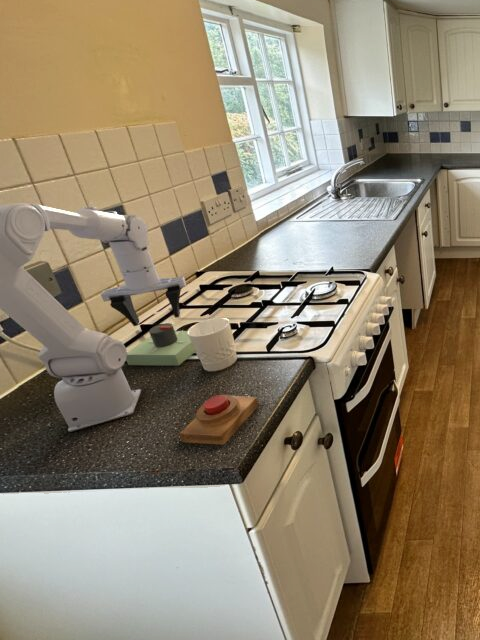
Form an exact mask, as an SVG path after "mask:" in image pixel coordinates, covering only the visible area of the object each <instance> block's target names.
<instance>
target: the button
mask: <svg viewBox="0 0 480 640" xmlns="http://www.w3.org/2000/svg"><path fill="white" fill-rule="evenodd" d="M225 395H226V394H219V395H215V396H212V397H210V398H208V399H207V400H206V401H205V402H204V403H205V404H204V403H203V404H204V408H205V410H206V413H207V414H208V415H215V414H218V413H220V412H222V411H224V410H226V409H227V408H228V407H229V403H228V400H227V397H226V396H225Z"/></svg>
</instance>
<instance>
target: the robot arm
mask: <svg viewBox="0 0 480 640" xmlns="http://www.w3.org/2000/svg"><path fill="white" fill-rule="evenodd" d="M50 230H61V231H62V230H63V231H64V230H65V231H69V233H70V234H71V235H72V236H74V237H76V238H79V239H86V240H87V239H90V240H99V241H101V242H102V243H104V244H107V243H108V244H109V247H110V249H111V252H112V254H113V257H114V260H115V261H116V264H117V266H118V269H119V272H120V274H121V276H122V279H123V281H124V284H125V285H120V286H118V287H113V288H109V289H103V291H102V292H101V293H100V296H101V298H102V300H103V302H110V304H109V305H110V307H111V308H113V309H114V310H116V311H118V312H119V313H120V314H121V315H122V316H124V317H125V318H126V319H127V320H128V321H129V322H130V323H131V324H132V326H133V327H137V326H139V323H140V319H139V316H138V314H137V312H136V309H135V307H134V304H133V300H132V297H131V296H136V295H137V296H138V295H142V294H147V293H152V292H158V291H163V290H164V291H165V290H166V292H165V297H166V298H167V300H168V302H169V304H170V307H171V310H172V313H173V316H174V318H179V317H180V315H181V311H180V298H181V297H180V296H181V291H182V289H183V288H185V287H186V286H187V281H186V278H185V276H184V275H183V276H177V277H164V278H160V277H159V274H158V271H157V269H156V266H155V263H154V261H153V258H152V255H151V252H150V250H149V248H148V246H149V245H150V244H149V242H150V241H149V239H148V233H149V228H148V224H147V223H146V222H145V220H144V219H143V218H141V217H139V216H137V215H136V214H118V212H117V211H115V210H114V211H113V210H111V211H110V210H109V211H102V210H99V208H98V207H97V206H84V207H83V208H80V209H76V210H73V212H72V211H67V210H63V209H58V208H54V207H49V206H44V205H40V204H39V203H24V202H16V203H10V204H0V310H1V311H2V312H3V313H4V314H6V316H8V317H9V318H11V319H12V321H14V322H15V323H17V324H18V325H19V326H20V327H21V328H23V330H25V331H26V332H27V333H28V334H30V335H31V336H32V337H33V338H34V339H35V340H37V341H38V342H39V343H40V344H42V347H41V349H40V350H39V353H38V356H37V358H38V359H39V360H40V361H41V362H42V363H43V365H44V366H45V369H46V372H47V373H48V375H50V376H51V377H53V378H57V379H60V378H61V379H62V380H59V381H58V382H57V383H56V384H55V387H54V390H53V396H54V402H55V404H56V407H57V408H58V410H59V412H60V413H61V416H62V417H63V419H64V421H65V423H66V424H67V426H68V428H67V431H68V433H70V432H71V433H72V432H75V431H77V430H82V429H85V428H88V427H91V426H95V425H98V424H103V423H105V422H110V421H112V420H117V419H120V418H124V417H126V416H130V415H132V414H133V413H134V412H135V409H136V407H137V405H138V401H139V398H140V396H141V393H142V389H139V388H138V389H134V390H132V389H131V387H130V385H129V382H128V380H127V377H126V376H125V373H124V371H123V369H122V367H123V366H124V365H125V363H126V362H127V361H126V357H127V352H128V351H127V348H126V346H125V344H124V343H123V342H122V341H121V340H119V339H115V338H112V337H111V336H110V335H109V334H107V333H105V332H101V331H97V330H93V329H89V328H86V327H85V326H84V325H83V324H82V323H81V322H80V321H79V320H78V319H76V317H75V316H74V315H73V314H71V313H70V311H68V310H67V309H66V308H65V307H64V306H63V305H62V304H61V303H60V301H58V300H57V299H56V298H55V297H54V296H53V295H52V294H51V293H50V292H49V291H48V290H47V289H46V288H44V286H43V285H42V284H41V283H40V282H38V280H36V278H35V277H33V276H32V275H31V274H30V273H29V272H28V271H27V270H26V269H25V267H24V265H26V264H28V263H30V262H31V261H32V260H33V258H34V256H35V254H36V251H37V249H38V247H39V245H40V243H41V241H42V239H43V236H44V234H45V232H50Z"/></svg>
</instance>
